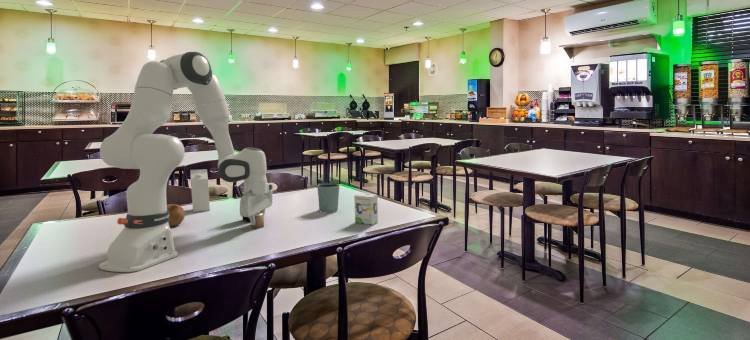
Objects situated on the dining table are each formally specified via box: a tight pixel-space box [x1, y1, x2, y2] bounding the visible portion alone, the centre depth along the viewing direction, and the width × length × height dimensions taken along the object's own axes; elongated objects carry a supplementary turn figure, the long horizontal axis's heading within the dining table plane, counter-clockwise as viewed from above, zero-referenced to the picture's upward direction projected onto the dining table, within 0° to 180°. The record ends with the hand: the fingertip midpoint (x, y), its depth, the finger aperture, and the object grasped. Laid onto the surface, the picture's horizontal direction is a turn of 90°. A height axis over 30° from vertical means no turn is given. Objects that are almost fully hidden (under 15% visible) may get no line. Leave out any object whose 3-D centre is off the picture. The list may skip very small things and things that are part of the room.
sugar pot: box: [250, 212, 265, 230], centre depth 169 cm, size 5×5×5 cm
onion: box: [167, 203, 186, 227], centre depth 172 cm, size 10×9×10 cm
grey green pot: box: [316, 183, 340, 213], centre depth 196 cm, size 10×10×12 cm
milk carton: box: [190, 168, 211, 213], centre depth 197 cm, size 7×7×19 cm
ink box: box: [353, 192, 379, 226], centre depth 174 cm, size 9×5×12 cm, turn 62°
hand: (257, 222), depth 169 cm, fingers closed on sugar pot, 5 cm apart
